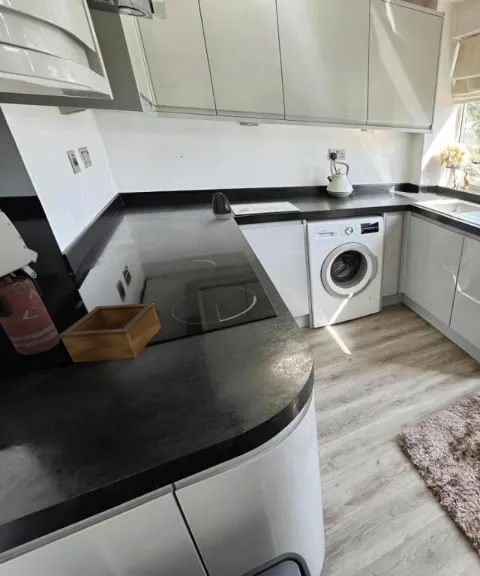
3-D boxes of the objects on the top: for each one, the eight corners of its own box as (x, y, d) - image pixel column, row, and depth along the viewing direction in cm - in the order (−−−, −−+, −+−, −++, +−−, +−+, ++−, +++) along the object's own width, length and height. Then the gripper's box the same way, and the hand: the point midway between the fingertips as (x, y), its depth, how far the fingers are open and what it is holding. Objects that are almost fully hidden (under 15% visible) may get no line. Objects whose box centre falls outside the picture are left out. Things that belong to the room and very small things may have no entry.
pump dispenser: (224, 215, 200) (218, 190, 193) (236, 217, 196) (232, 191, 189) (210, 219, 191) (204, 193, 184) (223, 221, 187) (217, 194, 181)
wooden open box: (72, 362, 74) (58, 335, 71) (107, 331, 86) (97, 306, 82) (136, 358, 76) (125, 331, 72) (162, 327, 87) (154, 303, 84)
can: (56, 333, 67) (25, 271, 61) (65, 344, 64) (33, 280, 58) (15, 347, 63) (-24, 282, 57) (22, 360, 59) (-18, 292, 53)
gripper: (-12, 199, 59) (33, 287, 67) (-134, 223, 43) (-56, 334, 51) (34, 198, 60) (74, 285, 68) (-68, 222, 44) (-1, 331, 52)
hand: (18, 306), depth 59 cm, fingers closed on can, 6 cm apart
